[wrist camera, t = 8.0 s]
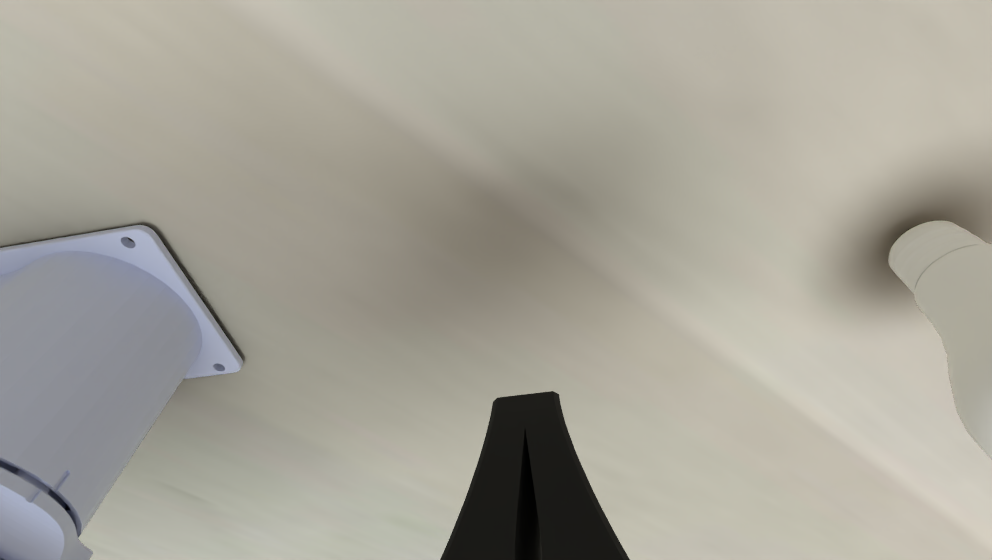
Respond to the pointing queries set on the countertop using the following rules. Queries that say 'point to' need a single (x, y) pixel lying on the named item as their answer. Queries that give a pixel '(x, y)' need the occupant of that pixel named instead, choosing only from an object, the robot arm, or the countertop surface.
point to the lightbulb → (955, 311)
